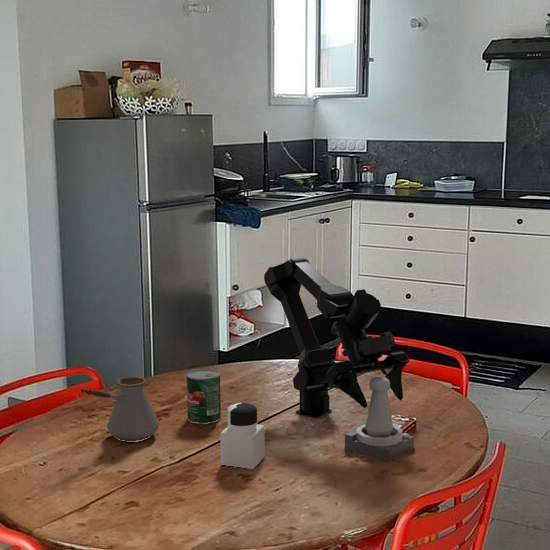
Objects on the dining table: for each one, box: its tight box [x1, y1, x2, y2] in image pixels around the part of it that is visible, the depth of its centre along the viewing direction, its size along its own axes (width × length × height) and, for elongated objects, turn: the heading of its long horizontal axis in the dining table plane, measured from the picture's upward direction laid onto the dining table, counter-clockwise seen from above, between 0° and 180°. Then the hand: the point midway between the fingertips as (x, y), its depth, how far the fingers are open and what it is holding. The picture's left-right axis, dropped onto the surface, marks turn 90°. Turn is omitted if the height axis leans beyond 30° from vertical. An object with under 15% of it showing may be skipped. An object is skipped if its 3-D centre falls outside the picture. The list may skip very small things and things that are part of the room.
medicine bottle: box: [219, 402, 266, 470], centre depth 175 cm, size 7×7×12 cm
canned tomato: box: [186, 368, 222, 423], centre depth 200 cm, size 8×8×11 cm
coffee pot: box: [76, 376, 160, 441], centre depth 185 cm, size 21×12×15 cm, turn 147°
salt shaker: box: [365, 376, 394, 438], centre depth 181 cm, size 6×6×13 cm
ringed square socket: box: [344, 423, 415, 463], centre depth 182 cm, size 11×10×4 cm
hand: (384, 403), depth 179 cm, fingers open, 9 cm apart
